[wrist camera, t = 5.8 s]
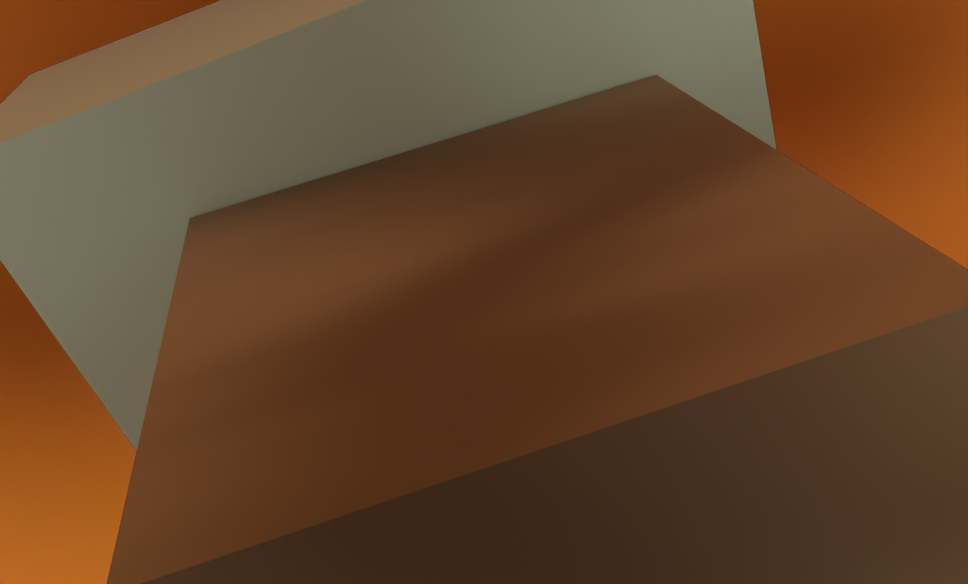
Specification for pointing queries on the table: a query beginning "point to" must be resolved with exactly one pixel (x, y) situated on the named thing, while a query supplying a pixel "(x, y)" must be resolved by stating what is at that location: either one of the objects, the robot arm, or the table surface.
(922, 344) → the walnut cube
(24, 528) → the table surface
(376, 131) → the sage block
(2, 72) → the table surface
